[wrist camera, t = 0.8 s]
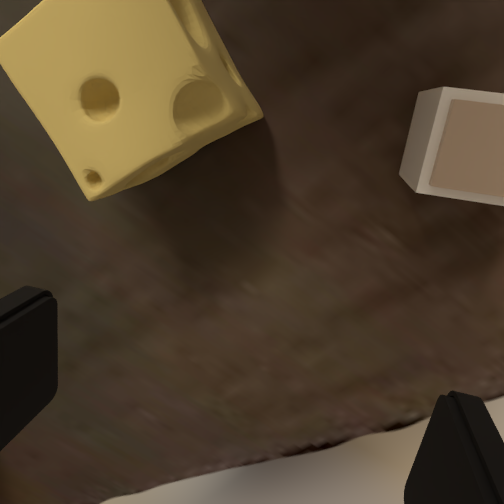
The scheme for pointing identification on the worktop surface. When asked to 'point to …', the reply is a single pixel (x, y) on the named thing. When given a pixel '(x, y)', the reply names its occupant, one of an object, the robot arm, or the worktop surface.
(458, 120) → the white cube
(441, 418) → the robot arm
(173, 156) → the cheese
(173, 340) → the worktop surface
